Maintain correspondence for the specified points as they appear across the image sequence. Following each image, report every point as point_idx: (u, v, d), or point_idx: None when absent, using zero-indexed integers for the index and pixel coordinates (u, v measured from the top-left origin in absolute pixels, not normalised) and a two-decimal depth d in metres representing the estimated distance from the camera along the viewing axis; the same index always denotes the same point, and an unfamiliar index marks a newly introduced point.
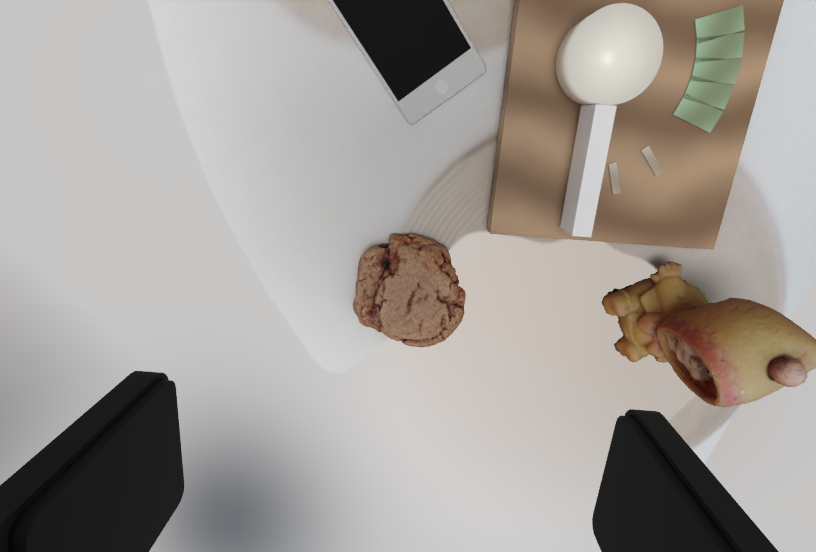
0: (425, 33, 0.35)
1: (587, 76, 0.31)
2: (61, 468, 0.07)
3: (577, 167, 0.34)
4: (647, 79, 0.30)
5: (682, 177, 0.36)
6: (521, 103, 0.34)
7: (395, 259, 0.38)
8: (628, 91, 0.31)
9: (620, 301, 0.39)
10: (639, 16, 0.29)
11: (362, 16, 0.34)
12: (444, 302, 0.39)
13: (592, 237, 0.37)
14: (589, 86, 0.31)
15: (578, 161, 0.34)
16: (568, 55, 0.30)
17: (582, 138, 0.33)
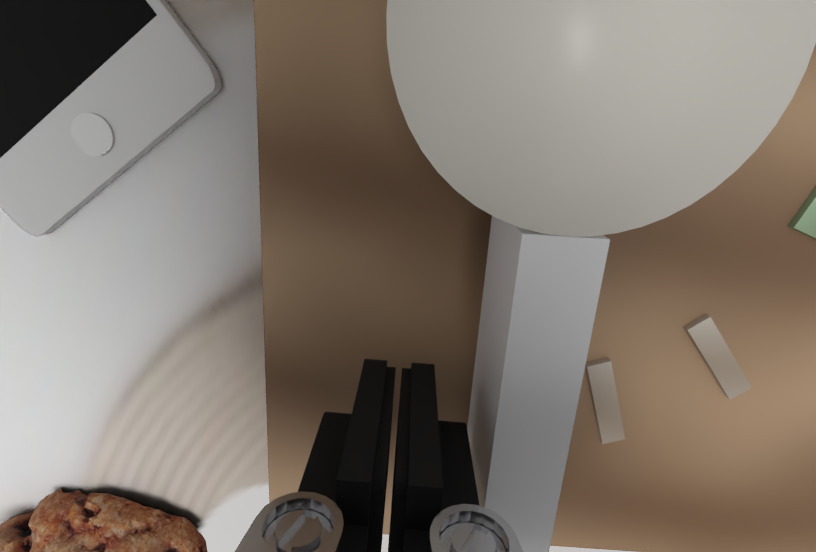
0: None
1: (478, 121, 0.07)
2: (376, 437, 0.08)
3: (481, 412, 0.10)
4: (744, 132, 0.07)
5: (806, 398, 0.12)
6: (306, 192, 0.11)
7: None
8: (659, 182, 0.07)
9: None
10: None
11: None
12: None
13: None
14: (490, 163, 0.07)
15: (483, 395, 0.10)
16: (387, 30, 0.07)
17: (492, 326, 0.09)
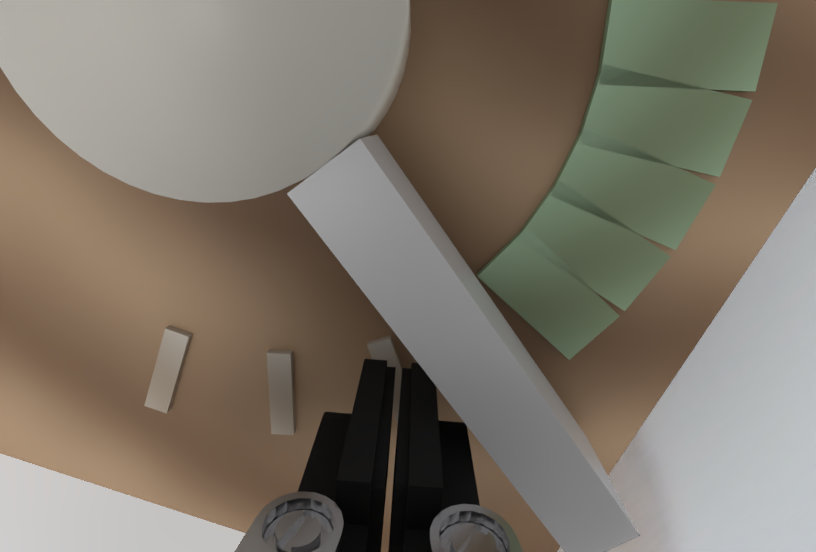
0: None
1: (170, 137, 0.07)
2: (376, 437, 0.08)
3: None
4: None
5: (470, 443, 0.13)
6: (4, 82, 0.10)
7: None
8: (351, 56, 0.06)
9: None
10: None
11: None
12: None
13: (210, 513, 0.14)
14: (209, 159, 0.07)
15: None
16: (56, 126, 0.07)
17: None
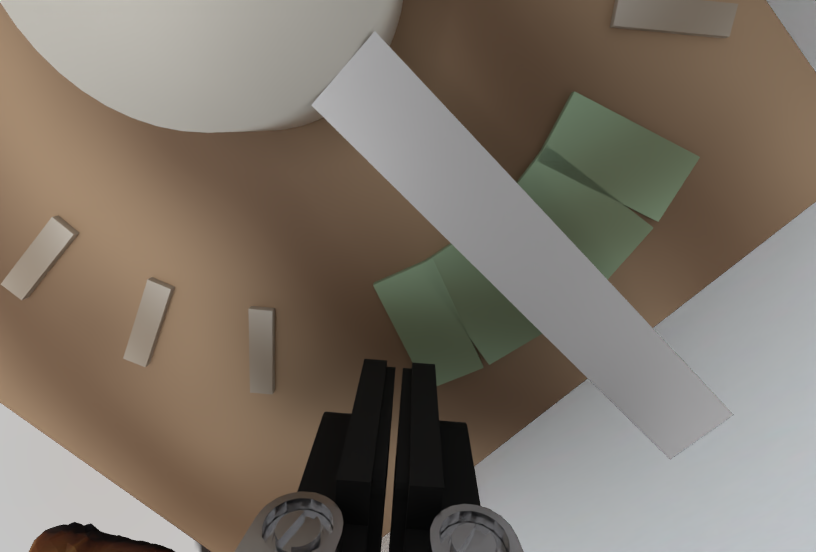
0: None
1: (189, 67, 0.07)
2: (376, 437, 0.08)
3: None
4: None
5: (312, 434, 0.13)
6: None
7: None
8: None
9: None
10: None
11: None
12: None
13: (31, 414, 0.13)
14: (230, 84, 0.07)
15: None
16: (79, 82, 0.07)
17: None
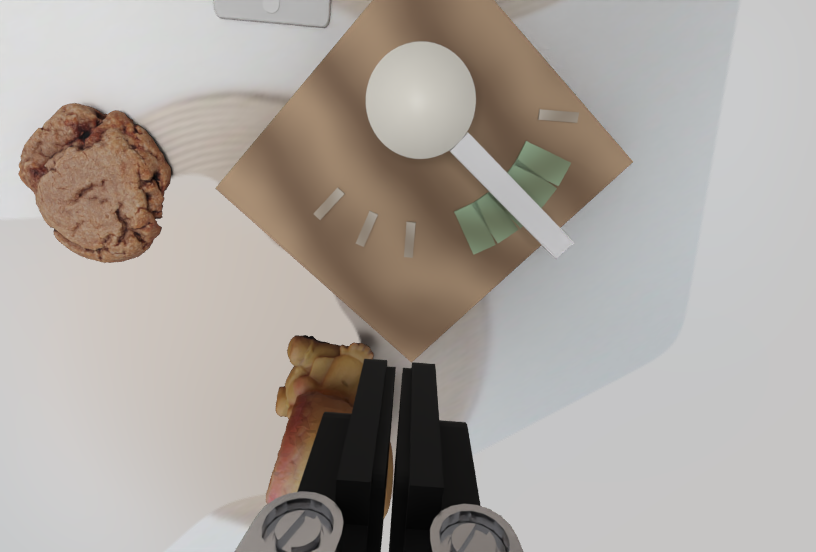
0: None
1: (418, 142, 0.26)
2: (376, 437, 0.08)
3: None
4: (468, 86, 0.25)
5: (426, 276, 0.32)
6: (327, 84, 0.28)
7: (96, 136, 0.30)
8: (464, 112, 0.25)
9: (299, 349, 0.34)
10: (402, 55, 0.25)
11: None
12: (122, 222, 0.31)
13: (312, 269, 0.32)
14: (428, 146, 0.26)
15: None
16: (386, 145, 0.26)
17: (474, 176, 0.28)
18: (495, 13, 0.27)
